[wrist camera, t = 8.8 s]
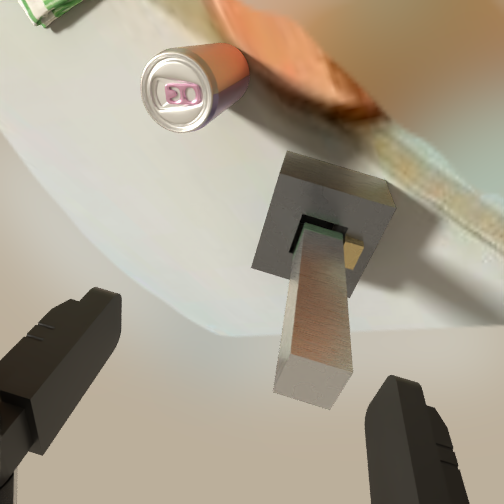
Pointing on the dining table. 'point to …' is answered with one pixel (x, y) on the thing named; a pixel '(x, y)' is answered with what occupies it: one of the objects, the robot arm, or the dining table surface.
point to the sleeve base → (324, 214)
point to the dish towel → (46, 10)
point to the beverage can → (193, 85)
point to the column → (315, 322)
